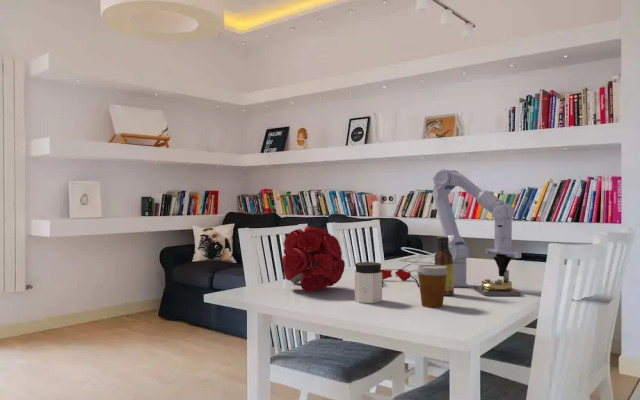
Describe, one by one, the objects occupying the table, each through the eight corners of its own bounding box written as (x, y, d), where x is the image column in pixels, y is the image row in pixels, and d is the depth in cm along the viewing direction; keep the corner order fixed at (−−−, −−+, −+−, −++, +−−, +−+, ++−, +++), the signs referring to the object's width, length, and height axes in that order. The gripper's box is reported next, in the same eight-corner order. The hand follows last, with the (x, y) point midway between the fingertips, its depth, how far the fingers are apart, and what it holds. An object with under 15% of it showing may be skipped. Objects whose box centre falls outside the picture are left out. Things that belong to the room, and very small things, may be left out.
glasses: (410, 281, 206) (410, 268, 206) (419, 288, 190) (419, 274, 190) (376, 281, 206) (376, 268, 206) (382, 288, 189) (382, 274, 189)
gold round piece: (496, 291, 172) (496, 274, 172) (475, 286, 181) (475, 270, 181) (519, 289, 176) (519, 272, 176) (497, 284, 185) (497, 268, 185)
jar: (351, 302, 162) (351, 264, 162) (357, 297, 170) (357, 261, 170) (379, 304, 159) (379, 265, 159) (384, 299, 167) (384, 262, 167)
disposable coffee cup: (414, 302, 162) (414, 264, 162) (444, 302, 162) (444, 264, 162) (419, 308, 153) (419, 268, 153) (451, 308, 153) (451, 268, 153)
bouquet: (270, 305, 189) (298, 274, 166) (264, 247, 201) (290, 210, 177) (323, 304, 198) (357, 275, 175) (314, 248, 209) (345, 214, 186)
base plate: (484, 296, 173) (484, 291, 173) (474, 289, 185) (474, 285, 185) (520, 296, 173) (520, 291, 172) (507, 289, 185) (507, 285, 184)
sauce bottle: (455, 293, 177) (455, 236, 177) (452, 296, 171) (452, 237, 171) (436, 292, 180) (436, 235, 180) (432, 295, 174) (432, 236, 174)
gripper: (479, 236, 186) (479, 274, 186) (511, 240, 173) (510, 280, 173) (493, 236, 189) (493, 272, 189) (525, 239, 176) (525, 278, 177)
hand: (502, 276), depth 182 cm, fingers closed, pressing on gold round piece
